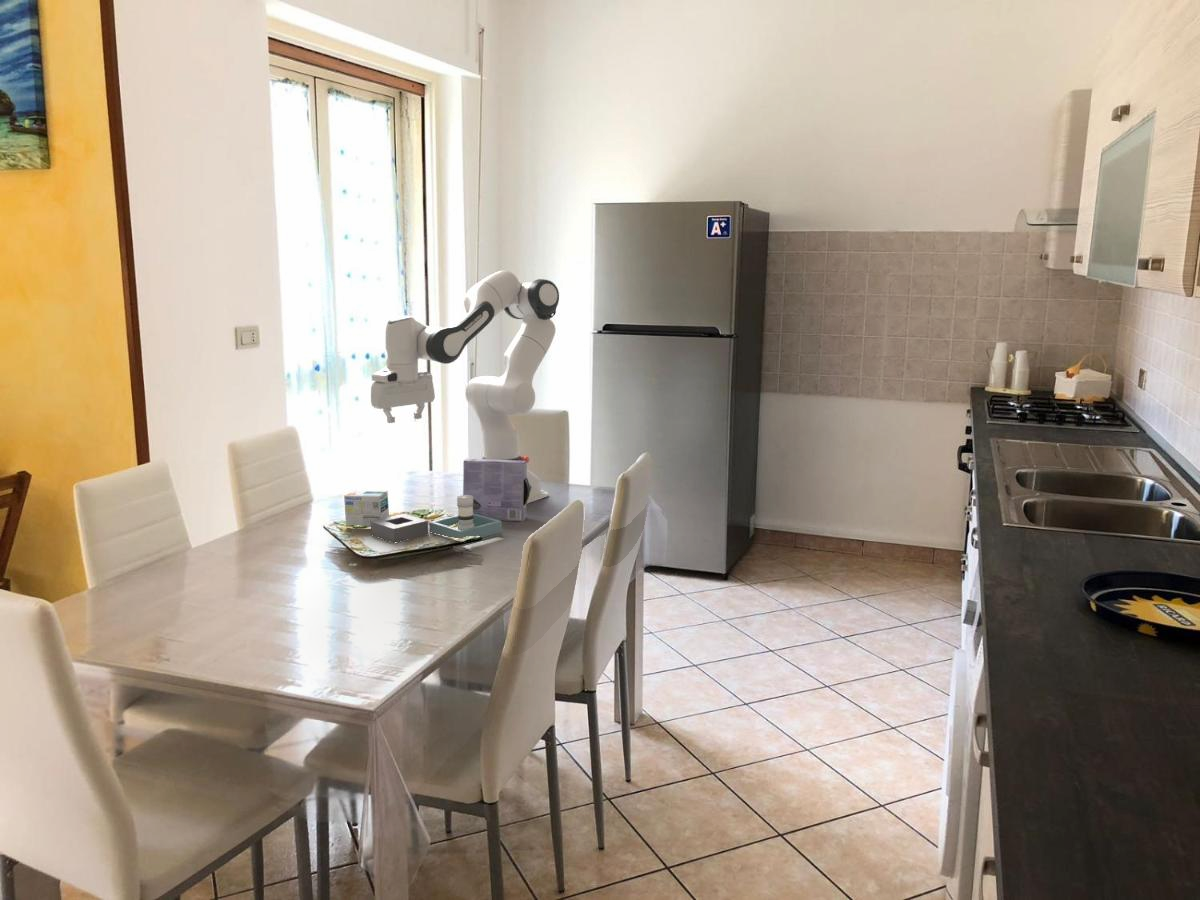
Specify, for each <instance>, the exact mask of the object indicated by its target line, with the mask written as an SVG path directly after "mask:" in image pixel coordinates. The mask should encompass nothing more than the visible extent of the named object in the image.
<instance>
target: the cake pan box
mask: <svg viewBox="0 0 1200 900" xmlns="http://www.w3.org/2000/svg"><path fill="white" fill-rule="evenodd" d="M527 464H528V463H527V461H515V460H494V459H482V458H466V459H465V458H464V460H463V466H462V467H463V468H462V469H463V475H462V476H463V477H462V478H463V479H462V483H463V485H462V487H463V488H462V494H463V495H471V496H473V504H474V505H473V513H474V514H478V515H481V516H485V517H488V518H492V519H495V520H499V521H505V522H508V521H509V522H524V521H526V519H527V504H526V503H527V500H528V498H529V494H530V486H529V482H528V479H527V467H528V466H527Z"/></svg>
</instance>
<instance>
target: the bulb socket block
mask: <svg viewBox="0 0 1200 900" xmlns="http://www.w3.org/2000/svg"><path fill="white" fill-rule="evenodd" d="M370 525H371V530H370V536H371V535H373V536H372V537H374V536H375V538H377V537H379V538H382V539H384V540H383V541H385V540H387V541H386V542H388V541H391V542H393V543H392V544H394V543H395V542H399V543H401V542H400V541H403V542H405V541H404V540H407V539H411V540H413V539H412V538H415V539H418V538H417V537H419V538H422V537H426V536H428V535H429V521H428V520H427V519H425V518H421V517H418V516H414V515H411V514H408V513H400V514H396V515H391V516H389V517H386V518H382V519H378V520H373V521H370ZM427 534H428V535H427ZM425 535H426V536H425ZM421 536H422V537H421ZM379 538H378V539H379ZM382 539H381V540H382ZM407 541H408V540H407ZM391 542H390V543H391ZM395 544H396V543H395Z"/></svg>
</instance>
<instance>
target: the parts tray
mask: <svg viewBox="0 0 1200 900" xmlns="http://www.w3.org/2000/svg"><path fill="white" fill-rule="evenodd" d="M458 522H459V520H458V514H456V515H452V516H448V517H444V518H441V519H437V520H433V521H428V530H429V533H430V532H432V533H436V534H440V535H444V536H448V537H454V538H463V537H466V536H477V535H478V536H480V537H481V538H484V537H488V536H492V535H495V536H492V537H488V538H485V539H482V540H481V538H480V540H478V541H473V542H471V543H470V542H469V543H467V544H463V545H461V547H465V546H469V545H471V544H475V543H479V542H482V541H486V540H490V539H493V538H498V537H500V536H502V534H503V524H502V521H499V520H495V519H492V518H488V517H485V516H481V515H478V514H474V513H473V523H474V527H473V528H469V529H465V530H459V529H456V528H453V527H449V525H453V524H456V523H458ZM432 533H431V534H432ZM496 534H500V535H496Z"/></svg>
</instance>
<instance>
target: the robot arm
mask: <svg viewBox="0 0 1200 900" xmlns="http://www.w3.org/2000/svg"><path fill="white" fill-rule="evenodd" d="M559 301H560V292H559V289H558V287H557V285H556V284H555V283H554V282H553V281H551V280H550V279H543V278H542V279H541V278H540V279H539V278H538V279H535V280H529V281H526V282H525V281H524V282H523V283H521V282H520V281H519V279H518V277H517V276H516V275H515V274H514V273H513V272H511V271H509V270H505V269H504V270H500V271H497V272H495V273H493V274H490V275H489V276H487V277H485V278H483V279H482V280H480V281H479V282H477V283H476V284H474V285H473V286H472V287H471V288H470V289H469V290H468V291H467V292H466V294H465V295H464V298H463V305H464V308H465V311H466V314H465V315H464V316H463V317H462V318H461V319H459V321H458V322H456V323H455V324H454V325H452V326H449V327H433V326H429V325H426V324H423V323H421V322H419V321H418V320H417V319H415V318H414V317H413V316H412V315H411V316H410V315H403V316H396V317H393V318H390V320H388V321H387V324H386V328H385V350H386V353H387V358H386V366H385V367H383V368H381V369H380V370H378V371H376V372H374V373H372V374H371V381H373V383H372V385H371V388H370V403H371V406H372V407H373V409H378V410H382V412H384V415H385V416H386V421H387V424H393V423H396V420H395V419H396V416H394V415H392V414H391V412H392V408H396V407H398V408H399V407H403V406H404V407H405V406H410V405H416V407H417V409H416V411H415V412H413V418H414V419H415V420H420V419H422V416H423V415H422V413H423V411H424V409H425V406H426V405H425V404H427V403H433V402H434V400H435V398H436V394H435V387H434V383H433V374H432V373H430V371H428V370H423V371H419V362H418V361H419V359H420V360H426V361H431V362H432V361H433V362H437V363H440V364H447V365H448V364H451V363H454V362H456V360H458V359H459V358H460V355H461V354H462V353H463V351H464V349H465V347H466V346H467V345H468V344H469V343H470V342H471V340H472V339H474V338H475V337H476V336H477V335H478V334H480V333H481V332H482V330H484V329H485V328H486V327H487V326H488V325H489V324H490V322H492V320H493V319H494V318H495V317H496V316H497V315H499V314H500V313H501V312H502V311H504V312H505V314H506V315H507V316H509V317H510V318H512V319H516V320H522V323H521V326H520V329H519V331H517V333H516V335H515V337H514V338H513V340H512V342H511V343H510V345H509V346H508V348H507V349H506V351H505V352H504V354H503V362H504V365H505V367H506V368H505V371H504V373H503V374H502V375H501V376H492V375H483V376H477V377H474V378H472V379H470V381H469V382H468V383H467V385H466V388H465V399H466V401H467V402H468V404H469V405H470V407H471V408H472V409H473V411H474V413H475V414H476V417H477V419H478V422H479V426H480V429H481V432H482V433H481V434H482V446H483V449H482V451H483V456H482V458H481V459H494V460H515V461H527V464H528V463H529V462H530V459H531V458H530V457H529V456H525V455H522V456H521V455H520V442H519V441H520V439H519V436H520V435H519V431H518V429H517V428H516V427H515V426H514V424H513V423H512V421H511V419H510V417H509V416H510V415H511V416H515V415H523V414H527V413H529V412H530V411H531V410H532V409H533V407H534V405H535V401H536V392H535V390H534V388H533V380H534V376H535V374H536V371H537V370H538V368H539V366H540V365H541V363H542V361H543V360H544V358H545V356H546V354H547V352H548V351H549V349H550V347H551V345H552V343H553V340H554V338H555V335H556V325H555V323H554V322H553V321H552V320H551V319H552V318H553V317H554V316H555V315H556V312H557V307H558V305H559ZM527 479H528V482H529V486H530V494H529V498H528V500H527V503H526V505H528V504H530V503H533V502H536V501H538V500H541V499H543V498H544V499H545V498H548V497H549V493H548V492H547V491H546V490H543V489H541V481H540V478H539V477H538V476H537V475H536V474H534V473H533V472H532V471H530V470H529V469H527Z"/></svg>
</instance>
